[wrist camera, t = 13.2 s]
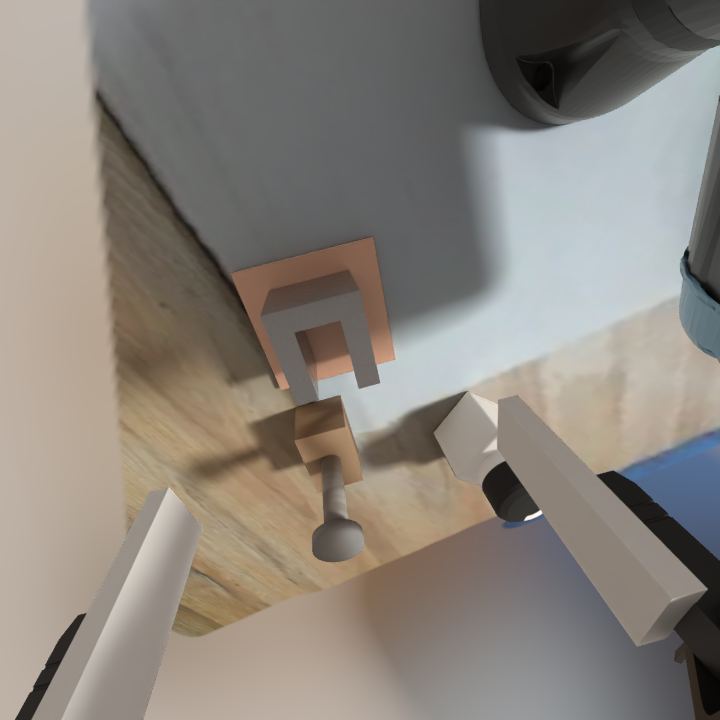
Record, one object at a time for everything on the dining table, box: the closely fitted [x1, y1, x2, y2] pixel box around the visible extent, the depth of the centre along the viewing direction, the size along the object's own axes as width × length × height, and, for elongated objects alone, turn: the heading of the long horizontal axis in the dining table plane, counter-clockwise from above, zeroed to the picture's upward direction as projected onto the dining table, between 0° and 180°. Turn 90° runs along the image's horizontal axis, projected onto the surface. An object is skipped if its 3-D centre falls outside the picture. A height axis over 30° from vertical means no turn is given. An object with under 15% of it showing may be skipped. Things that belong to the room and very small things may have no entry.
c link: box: [260, 269, 380, 405], centre depth 25 cm, size 8×7×6 cm
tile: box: [231, 237, 395, 390], centre depth 28 cm, size 12×12×1 cm
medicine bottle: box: [434, 392, 542, 522], centre depth 33 cm, size 7×7×12 cm
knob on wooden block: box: [294, 396, 364, 562], centre depth 29 cm, size 5×8×14 cm, turn 12°
